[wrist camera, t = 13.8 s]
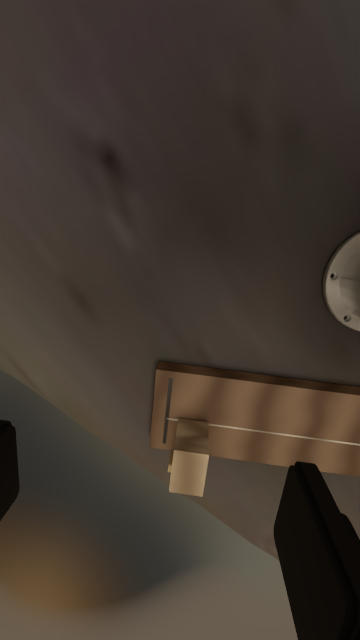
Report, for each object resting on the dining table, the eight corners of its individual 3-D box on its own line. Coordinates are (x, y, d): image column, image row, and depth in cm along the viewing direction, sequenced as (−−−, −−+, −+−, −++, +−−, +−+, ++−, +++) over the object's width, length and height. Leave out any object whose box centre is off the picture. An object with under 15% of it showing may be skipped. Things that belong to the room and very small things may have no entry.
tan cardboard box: (211, 413, 40) (213, 455, 33) (205, 454, 42) (205, 503, 35) (176, 408, 41) (169, 449, 33) (171, 449, 43) (164, 497, 35)
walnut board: (384, 389, 38) (396, 400, 36) (359, 464, 42) (368, 478, 39) (159, 361, 40) (156, 369, 37) (152, 435, 43) (149, 447, 40)
